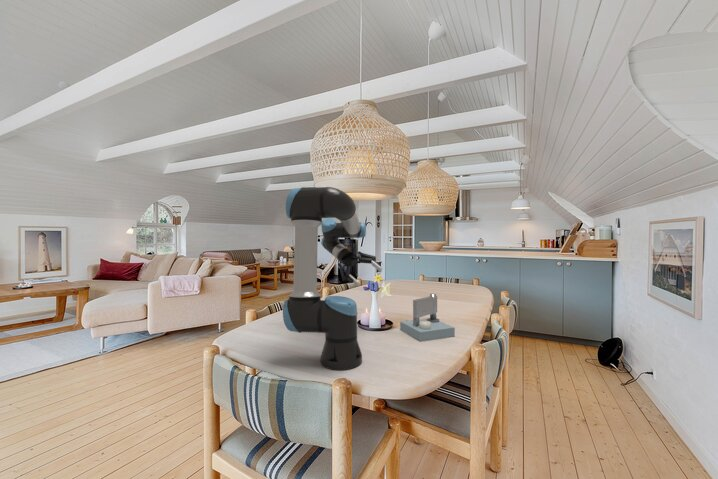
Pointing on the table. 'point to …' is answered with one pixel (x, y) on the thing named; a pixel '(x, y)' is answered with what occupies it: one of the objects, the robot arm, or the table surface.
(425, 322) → the cover cap
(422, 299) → the grey upright panel
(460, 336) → the table surface
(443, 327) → the blue-grey square base
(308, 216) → the robot arm
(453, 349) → the table surface
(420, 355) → the table surface
